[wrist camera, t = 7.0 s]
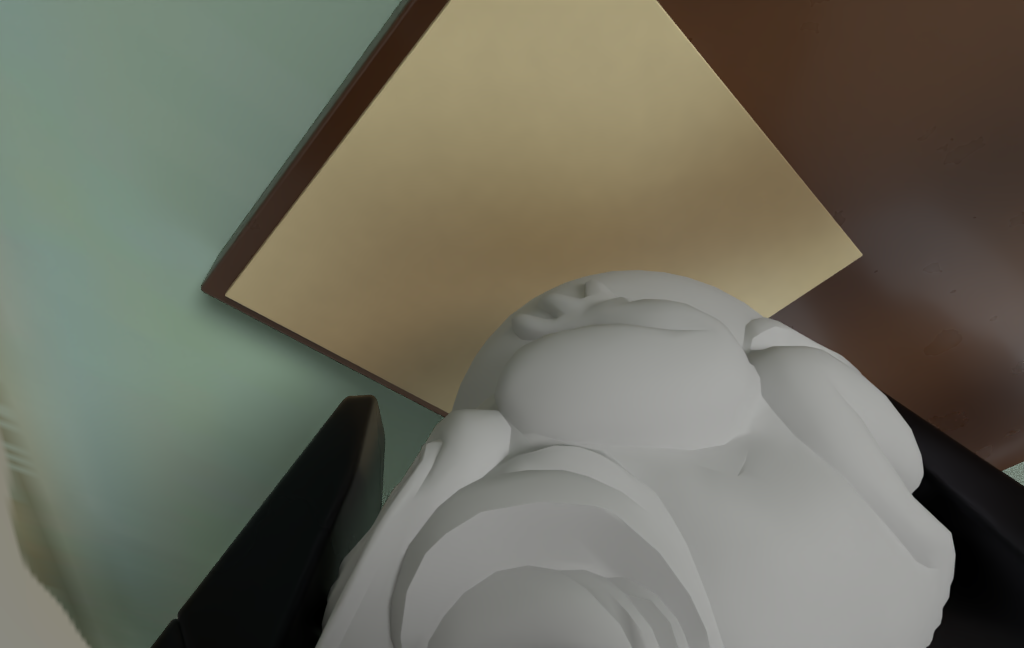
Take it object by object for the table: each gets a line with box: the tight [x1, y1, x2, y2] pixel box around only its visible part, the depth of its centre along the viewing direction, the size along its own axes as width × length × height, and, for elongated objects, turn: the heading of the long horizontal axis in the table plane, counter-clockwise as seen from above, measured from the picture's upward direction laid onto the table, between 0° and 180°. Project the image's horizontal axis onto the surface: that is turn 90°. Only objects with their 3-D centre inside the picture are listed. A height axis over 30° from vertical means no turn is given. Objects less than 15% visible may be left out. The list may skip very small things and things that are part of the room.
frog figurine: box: [315, 270, 956, 648], centre depth 7 cm, size 6×7×7 cm
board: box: [201, 0, 1024, 471], centre depth 12 cm, size 20×20×1 cm
